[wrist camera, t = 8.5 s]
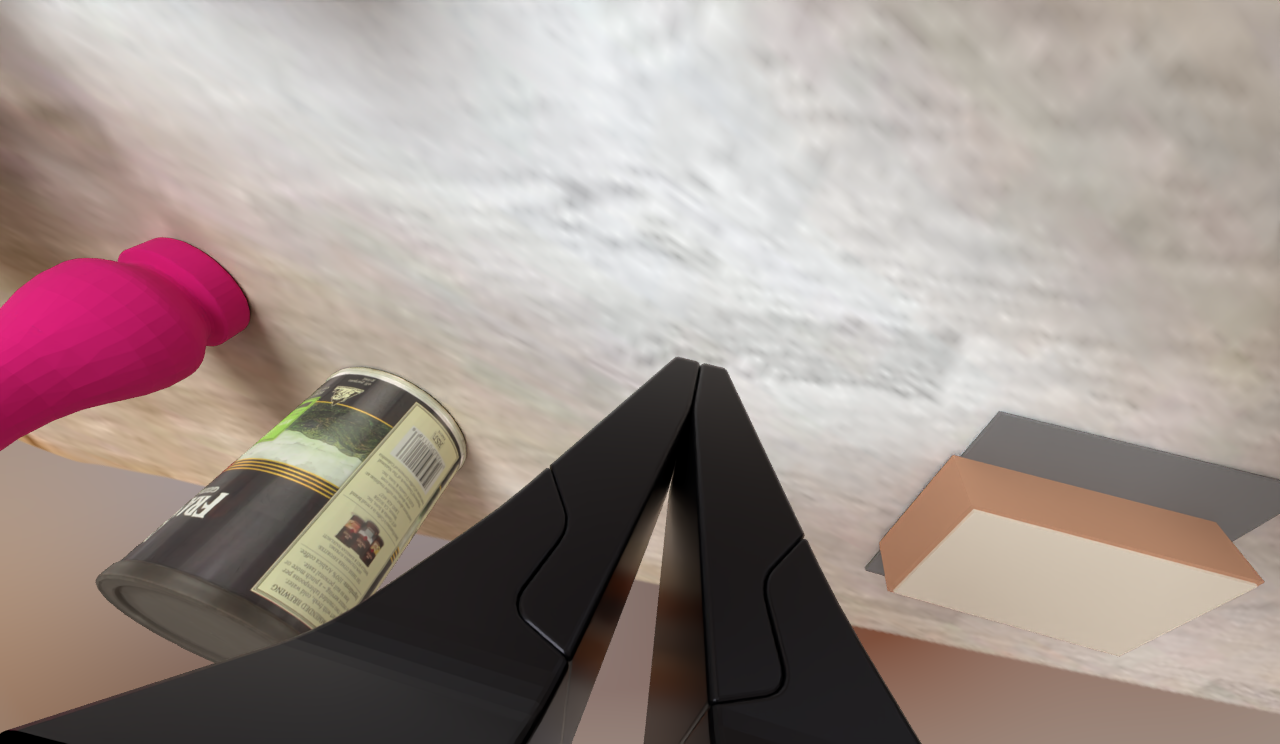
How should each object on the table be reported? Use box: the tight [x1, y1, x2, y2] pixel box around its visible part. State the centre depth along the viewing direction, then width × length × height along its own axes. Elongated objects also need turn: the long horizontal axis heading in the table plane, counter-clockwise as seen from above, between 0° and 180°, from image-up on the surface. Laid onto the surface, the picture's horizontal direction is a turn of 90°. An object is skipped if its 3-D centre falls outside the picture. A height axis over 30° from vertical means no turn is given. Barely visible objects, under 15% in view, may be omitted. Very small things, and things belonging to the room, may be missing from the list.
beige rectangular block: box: [879, 455, 1264, 657], centre depth 25 cm, size 3×8×12 cm
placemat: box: [865, 411, 1280, 576], centre depth 26 cm, size 13×14×1 cm
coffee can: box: [96, 367, 466, 663], centre depth 28 cm, size 10×10×14 cm
